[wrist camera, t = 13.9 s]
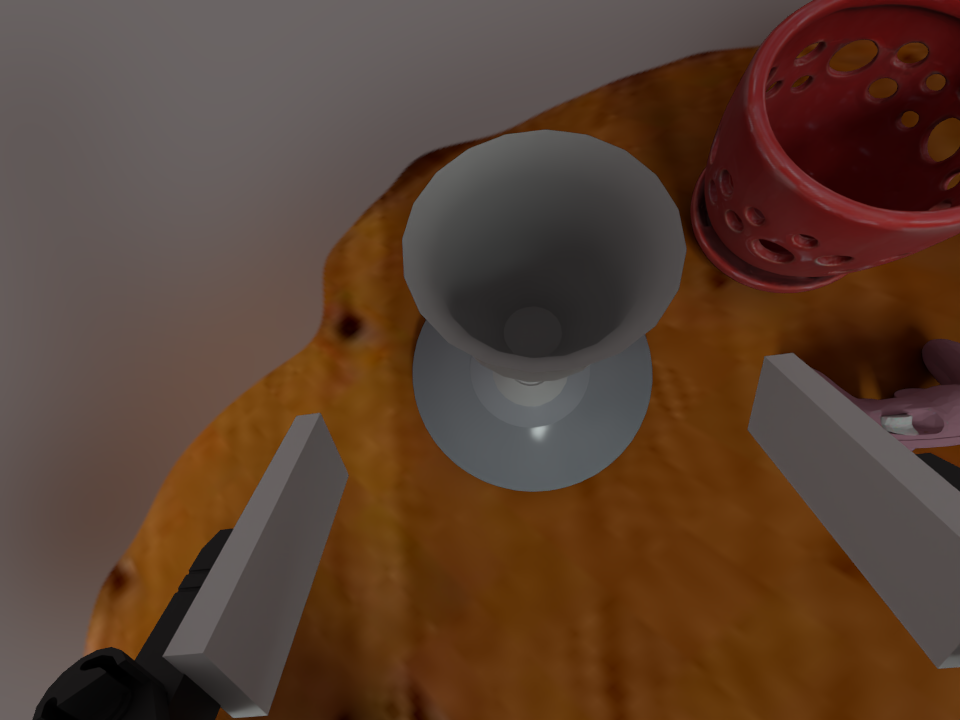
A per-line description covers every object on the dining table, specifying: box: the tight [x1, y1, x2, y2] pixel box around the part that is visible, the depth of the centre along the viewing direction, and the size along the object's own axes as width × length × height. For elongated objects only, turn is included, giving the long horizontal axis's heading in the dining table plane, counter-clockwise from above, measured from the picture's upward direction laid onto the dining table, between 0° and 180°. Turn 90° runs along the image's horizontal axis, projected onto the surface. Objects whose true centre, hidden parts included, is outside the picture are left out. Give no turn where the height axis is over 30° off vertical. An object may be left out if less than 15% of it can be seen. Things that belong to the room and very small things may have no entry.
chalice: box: [402, 130, 686, 407], centre depth 20 cm, size 7×7×18 cm
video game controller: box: [810, 339, 960, 451], centre depth 25 cm, size 10×5×7 cm, turn 101°
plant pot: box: [690, 0, 960, 293], centre depth 25 cm, size 13×13×12 cm
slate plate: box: [413, 320, 652, 492], centre depth 29 cm, size 16×16×1 cm
